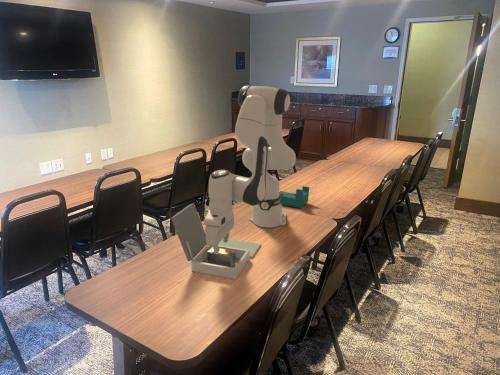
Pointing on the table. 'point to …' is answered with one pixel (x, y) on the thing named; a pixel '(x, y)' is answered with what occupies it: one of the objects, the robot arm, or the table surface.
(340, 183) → the table surface
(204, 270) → the equipment case
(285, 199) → the teal l-shaped bracket
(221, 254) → the module
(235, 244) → the sage mat
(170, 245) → the table surface
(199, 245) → the case lid
